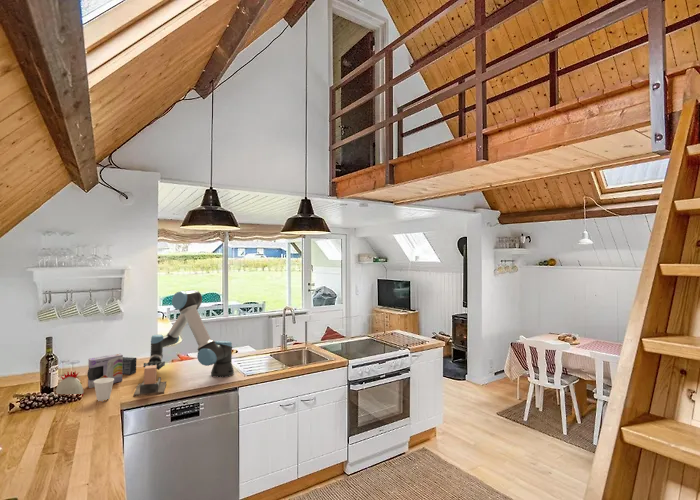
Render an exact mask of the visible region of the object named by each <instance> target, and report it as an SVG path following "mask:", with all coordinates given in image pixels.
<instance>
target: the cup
mask: <svg viewBox="0 0 700 500" xmlns="http://www.w3.org/2000/svg"><path fill="white" fill-rule="evenodd" d="M113 381H114V378H101V379H97V380H95V381H94V385H95V387H94V391H95V397H96V401H97V400H98V401H97V402H99V401H102V402H104V401H103V400H107V399H109V400H110V398H111V394H112V389H113V384H114V383H113ZM107 401H108V400H107Z"/></svg>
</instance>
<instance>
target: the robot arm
mask: <svg viewBox="0 0 700 500" xmlns="http://www.w3.org/2000/svg"><path fill="white" fill-rule="evenodd" d="M202 302H203V296H202V294H201V293H200V291H199V290H195V289H190V290H181V291H178V292H176V293H175V294H173V296H172V299H171V305H172V306H173V308H174V309H176V310H178V311H179V313H180V314H179V315H178V316H177V318H176V320H175V322H174V323H173V325H172V327H171V328H170V330H169V331H168V333H167V334H166V335H162V334H154V335H152V336H151V337H150V355H149V357H150V358H149V360H148V362H144V363H143V365H142V366H143V368H145V366H152V365H157V370H156V371H158V370H160V369H162V368H163V367H165V366H166V364H165V363H166V362H165V361H162V360H163V357H164V356H163V355H164V354H163V351H164V350H163V348H166V347H169V346H172V345H175V344H178V342H179V341H180V335H181V333H182V332H183V330H184V329H185V327H186V326H187V325H188V326H189V329H190V331H191V333H192V335H193V337H194V339H195V341H196V344H197V345H198V347H197V351H198V352H197V360H198V363H199V364H201V365H202V366H205V367H206V366H207V367H209V366H212V365H213V366H212V369H211V371H210V376H212V377H213V376H214V378H226V377H225V376H228V377H230V376H229V375H231V376H233V375H234V374H235V371H234V370H235V369H234V366H233V361H232V359H233V357H232V356H233V343H232V341H229V340H216V341H215V340H213V339H211V336H210V335H209V332H208V331H207V330H208V329H207V328H206V327H205V323H204V322H203V320H202V318H201V316H200V313H199V312H198V309H199V308H200V307H201V305H202ZM233 373H234V374H233ZM232 374H233V375H232Z"/></svg>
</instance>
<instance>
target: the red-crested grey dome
mask: <svg viewBox="0 0 700 500" xmlns="http://www.w3.org/2000/svg"><path fill="white" fill-rule="evenodd" d="M76 372H77V371H76V370H74V373H73V371H72V370H71V371H70V373H69V371H67V374H66V373H64V375H63V376H64V377H63V376H62V375H61V376H60V377H61V379H62V380H61V381H59V383H58V384H57V386H56V388H55V391H56V393H58V394H81V395H82V397H84V388H83V384H82V381H80V380H79V379H78V378H77V377H78V375H79V373H80V372H77V373H76Z"/></svg>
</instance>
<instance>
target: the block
mask: <svg viewBox="0 0 700 500" xmlns="http://www.w3.org/2000/svg"><path fill="white" fill-rule="evenodd" d="M143 368H144V370H143V371H144V372H143V381H144V384H156V382H157V371H158V370H157V365H152V366H145V367H143Z"/></svg>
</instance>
